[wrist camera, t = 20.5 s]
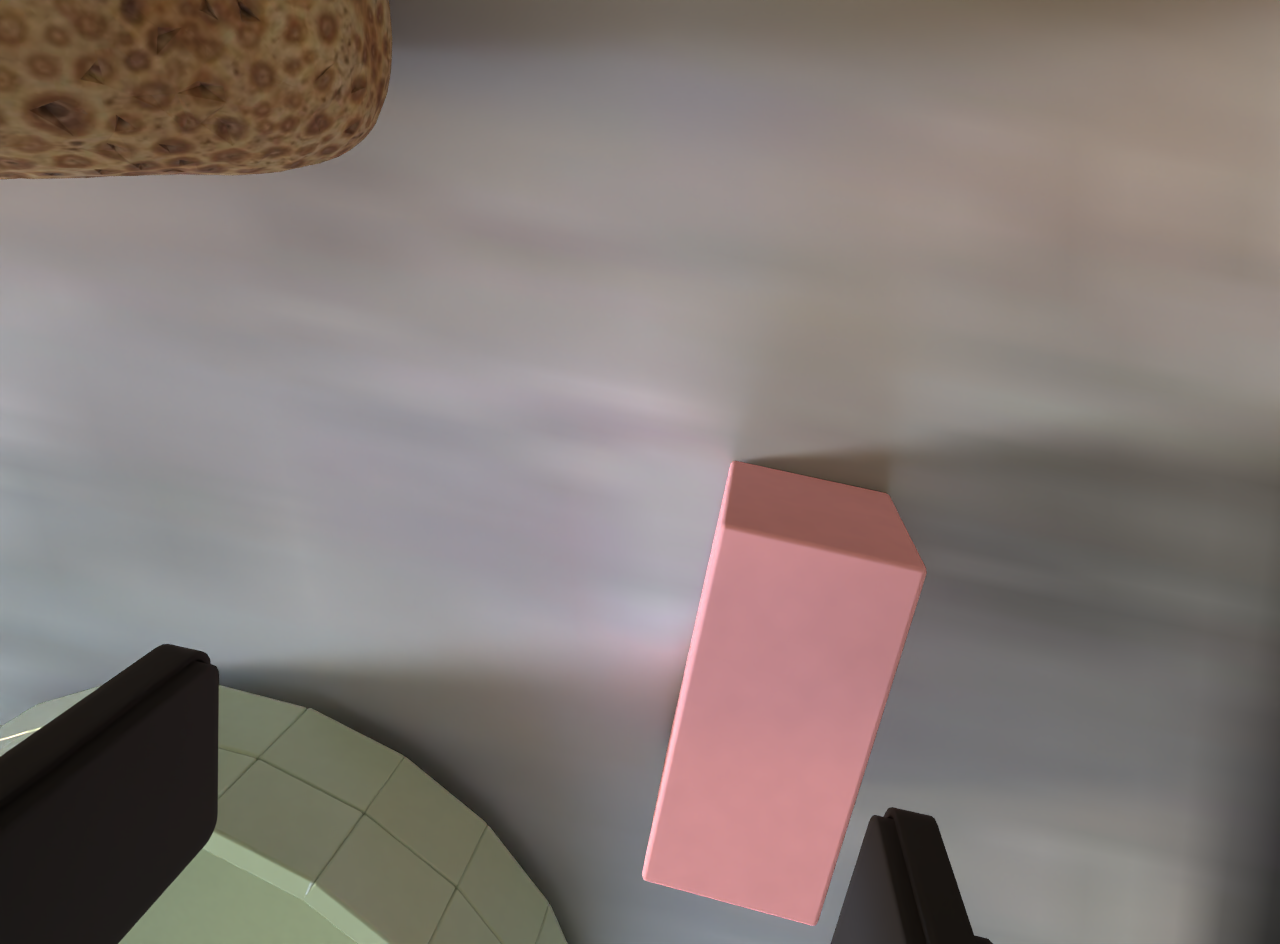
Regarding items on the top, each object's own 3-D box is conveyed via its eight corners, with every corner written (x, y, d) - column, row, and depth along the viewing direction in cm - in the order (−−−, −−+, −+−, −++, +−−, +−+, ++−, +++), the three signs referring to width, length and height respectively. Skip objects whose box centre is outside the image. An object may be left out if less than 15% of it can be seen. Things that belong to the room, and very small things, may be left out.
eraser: (731, 458, 16) (721, 523, 12) (890, 492, 16) (929, 569, 12) (667, 749, 18) (640, 881, 14) (806, 784, 18) (816, 929, 14)
